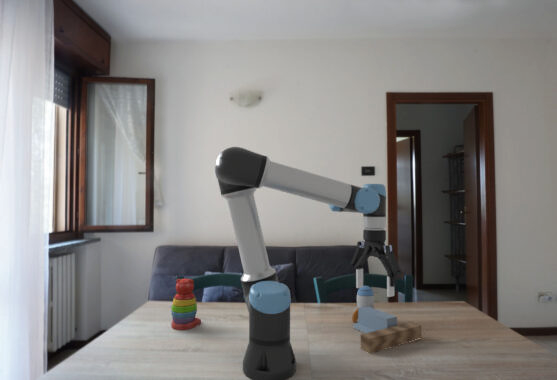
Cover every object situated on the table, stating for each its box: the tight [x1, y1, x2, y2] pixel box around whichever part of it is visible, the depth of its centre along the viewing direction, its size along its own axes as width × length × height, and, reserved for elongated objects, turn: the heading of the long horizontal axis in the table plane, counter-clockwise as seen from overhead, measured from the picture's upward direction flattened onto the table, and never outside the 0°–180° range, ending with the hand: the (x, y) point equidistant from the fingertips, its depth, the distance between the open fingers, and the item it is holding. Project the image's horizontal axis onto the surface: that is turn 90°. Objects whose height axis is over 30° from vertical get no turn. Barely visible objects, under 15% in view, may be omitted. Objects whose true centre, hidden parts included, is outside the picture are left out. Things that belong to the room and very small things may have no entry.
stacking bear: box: [170, 278, 202, 331], centre depth 136 cm, size 11×10×18 cm
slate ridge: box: [352, 306, 398, 334], centre depth 131 cm, size 10×14×7 cm
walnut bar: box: [360, 321, 422, 354], centre depth 120 cm, size 24×4×5 cm, turn 120°
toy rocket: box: [352, 285, 375, 323], centre depth 141 cm, size 10×11×15 cm
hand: (374, 291), depth 122 cm, fingers open, 13 cm apart
